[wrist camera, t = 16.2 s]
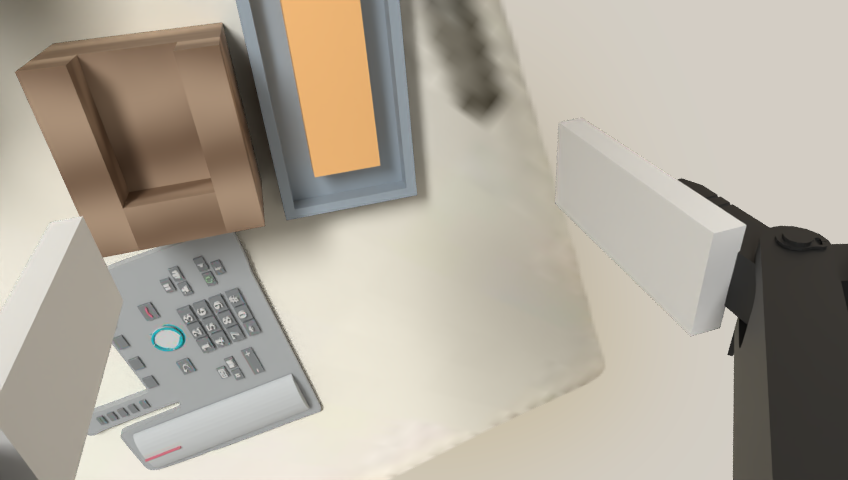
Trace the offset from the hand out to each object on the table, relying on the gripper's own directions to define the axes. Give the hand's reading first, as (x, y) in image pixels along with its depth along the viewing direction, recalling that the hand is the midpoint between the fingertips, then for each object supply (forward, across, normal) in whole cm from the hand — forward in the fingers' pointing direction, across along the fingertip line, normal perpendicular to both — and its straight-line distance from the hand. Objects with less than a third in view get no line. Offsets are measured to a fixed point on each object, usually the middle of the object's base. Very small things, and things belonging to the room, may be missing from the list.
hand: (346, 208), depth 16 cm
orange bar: (+28, +3, -3) cm, 28 cm away
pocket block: (+29, -9, -6) cm, 31 cm away
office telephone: (+29, -16, -28) cm, 43 cm away
